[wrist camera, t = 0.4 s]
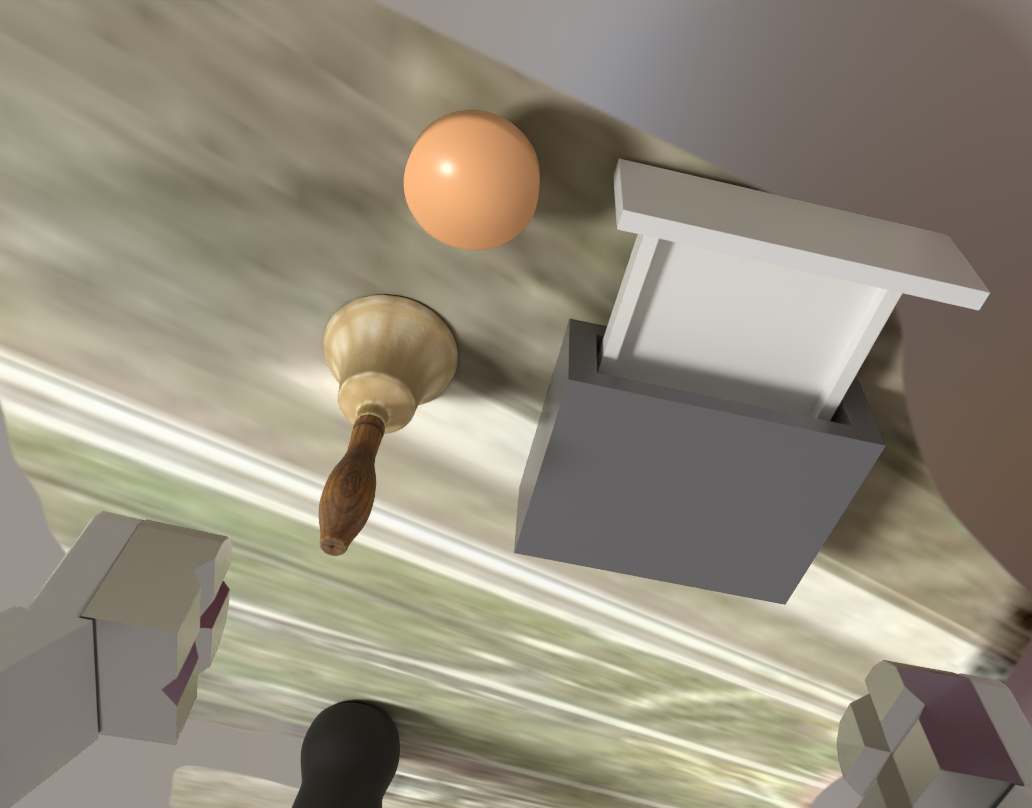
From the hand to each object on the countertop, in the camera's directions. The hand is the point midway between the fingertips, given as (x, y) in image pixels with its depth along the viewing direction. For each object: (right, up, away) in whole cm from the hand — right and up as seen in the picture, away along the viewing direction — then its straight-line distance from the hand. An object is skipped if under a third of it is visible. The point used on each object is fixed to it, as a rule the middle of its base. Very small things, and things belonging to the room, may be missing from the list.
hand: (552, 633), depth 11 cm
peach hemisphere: (-2, +14, +32) cm, 35 cm away
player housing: (+10, +1, +46) cm, 47 cm away
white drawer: (+12, +8, +39) cm, 41 cm away
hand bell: (-8, +6, +43) cm, 44 cm away
